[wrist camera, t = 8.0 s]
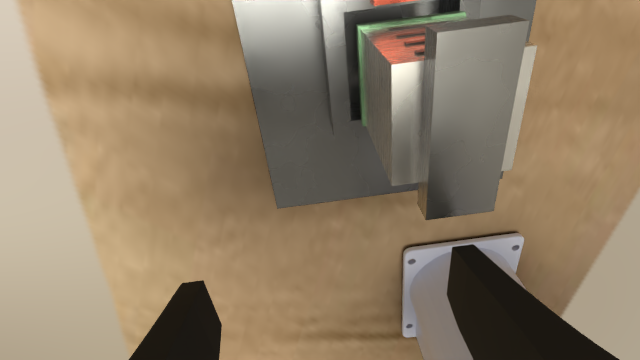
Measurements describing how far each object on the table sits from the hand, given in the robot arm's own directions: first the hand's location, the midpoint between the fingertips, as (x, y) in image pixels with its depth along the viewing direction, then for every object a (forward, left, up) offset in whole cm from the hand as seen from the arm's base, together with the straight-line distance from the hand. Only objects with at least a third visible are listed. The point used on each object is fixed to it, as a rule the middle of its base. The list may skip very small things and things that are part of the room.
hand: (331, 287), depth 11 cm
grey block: (+4, -4, -8) cm, 9 cm away
